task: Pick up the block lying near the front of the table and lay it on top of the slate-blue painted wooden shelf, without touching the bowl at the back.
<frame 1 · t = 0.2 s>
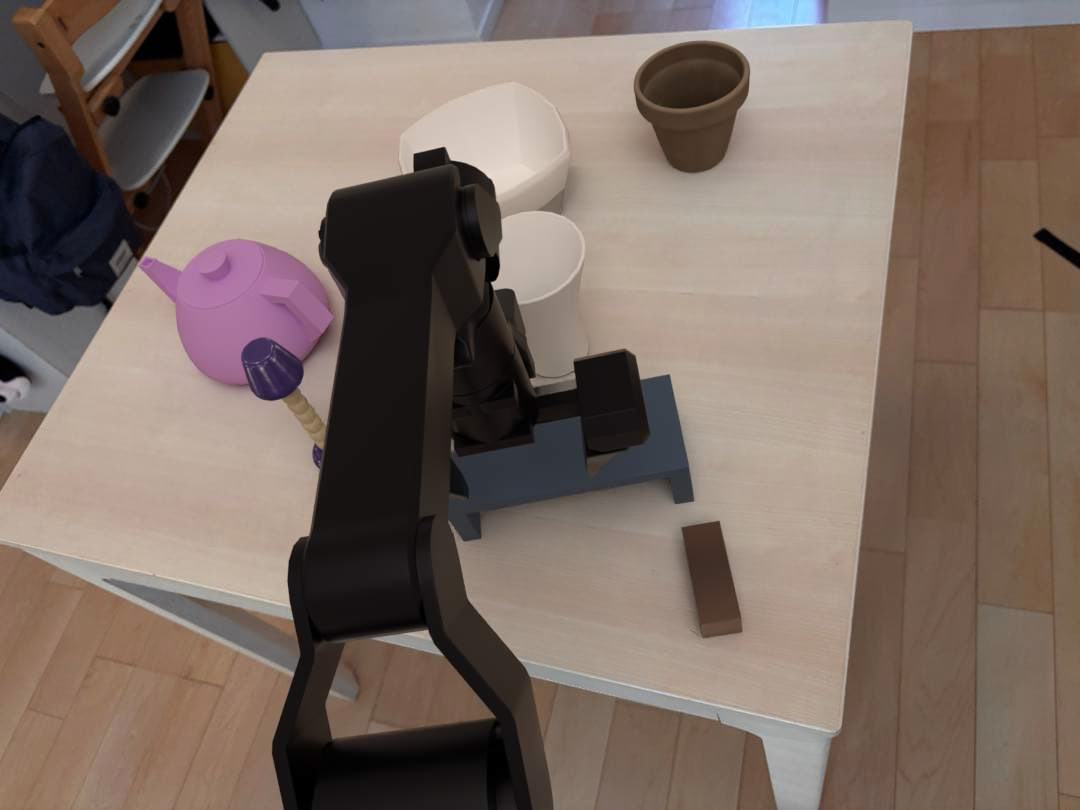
hand: (528, 482, 62), 12 cm above the table, tool pointing down, fingers open, 9 cm apart
block: (712, 585, 68), on the table
cup: (556, 351, 84), on the table
flower pot: (697, 153, 95), on the table
teapot: (268, 335, 94), on the table
bowl: (503, 210, 96), on the table
toy lamp: (339, 454, 83), on the table
shelf: (571, 475, 76), on the table
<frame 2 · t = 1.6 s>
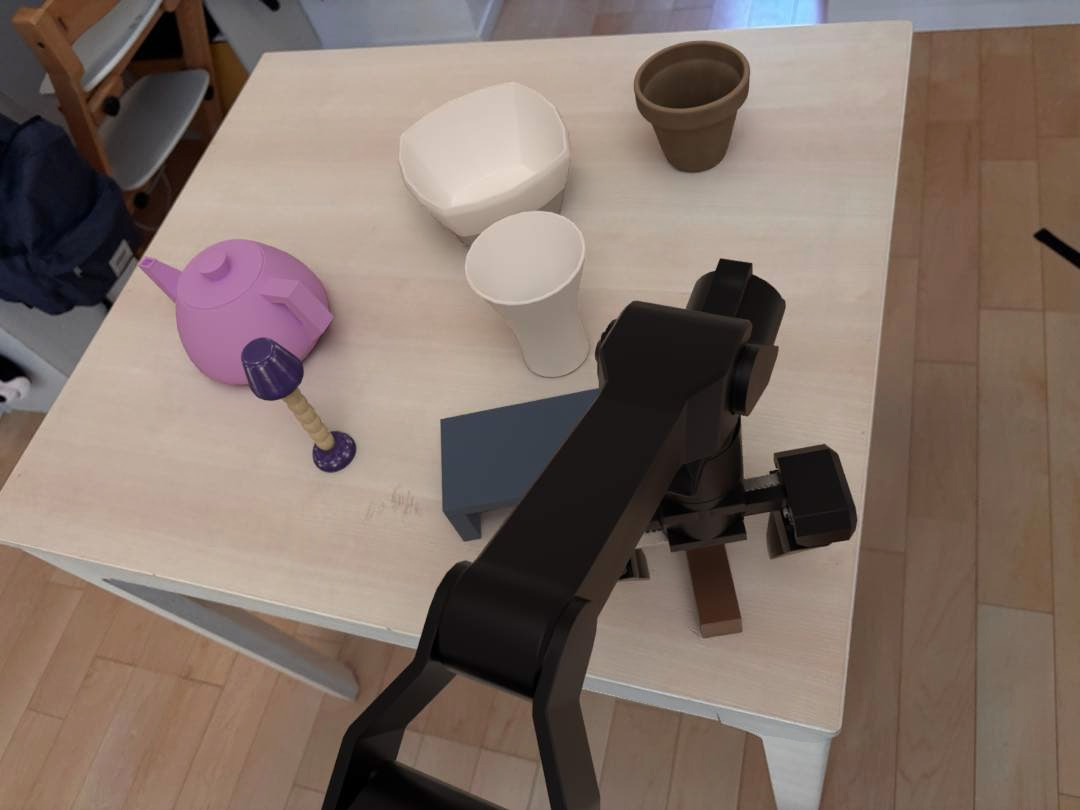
hand: (708, 563, 64), 5 cm above the table, tool pointing down, fingers open, 9 cm apart
nothing on the table moved.
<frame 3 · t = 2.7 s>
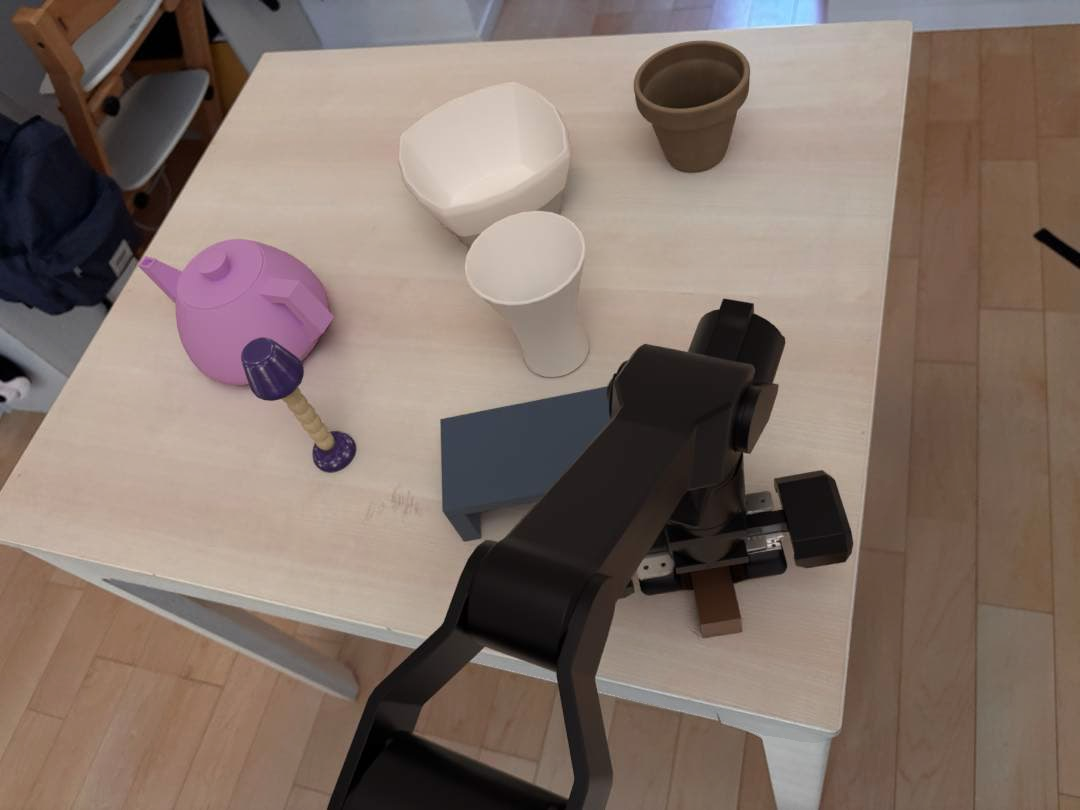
hand: (711, 581, 67), 1 cm above the table, tool pointing down, fingers closed on block, 3 cm apart
block: (712, 585, 68), on the table, touching gripper
everything else where it was.
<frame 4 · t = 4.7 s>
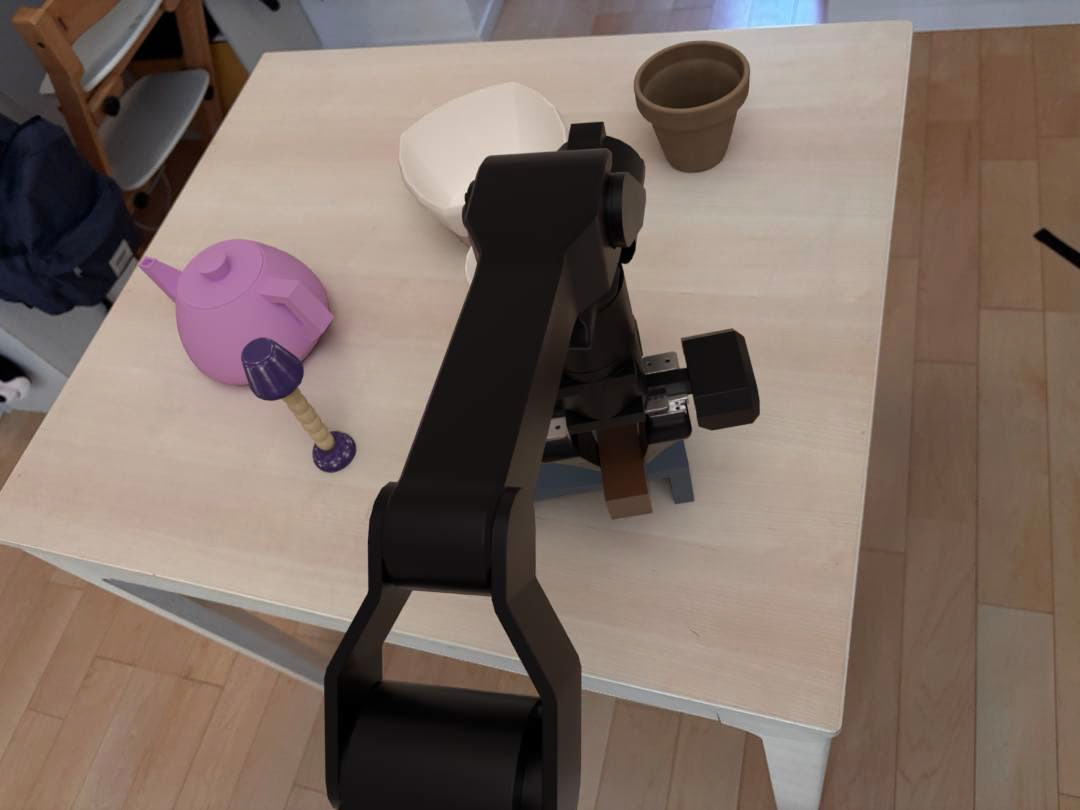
hand: (623, 460, 63), 11 cm above the table, tool pointing down, fingers closed on block, 3 cm apart
block: (625, 467, 63), point 10 cm above the table, touching gripper
everything else where it was.
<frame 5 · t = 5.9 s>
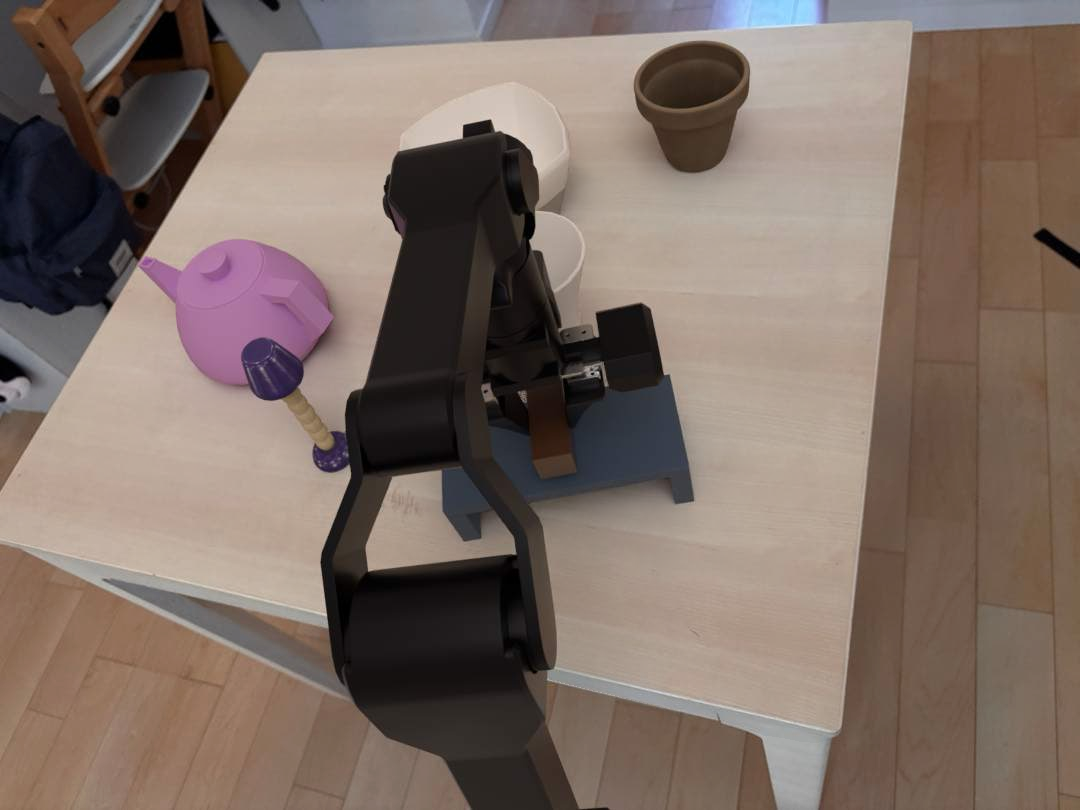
hand: (552, 427, 69), 8 cm above the table, tool pointing down, fingers closed on block, 3 cm apart
block: (554, 433, 70), point 7 cm above the table, touching gripper
everything else where it was.
when the fingers open (7 cm above the table, at t = 6.6 s): block stays where it is, resting on shelf.
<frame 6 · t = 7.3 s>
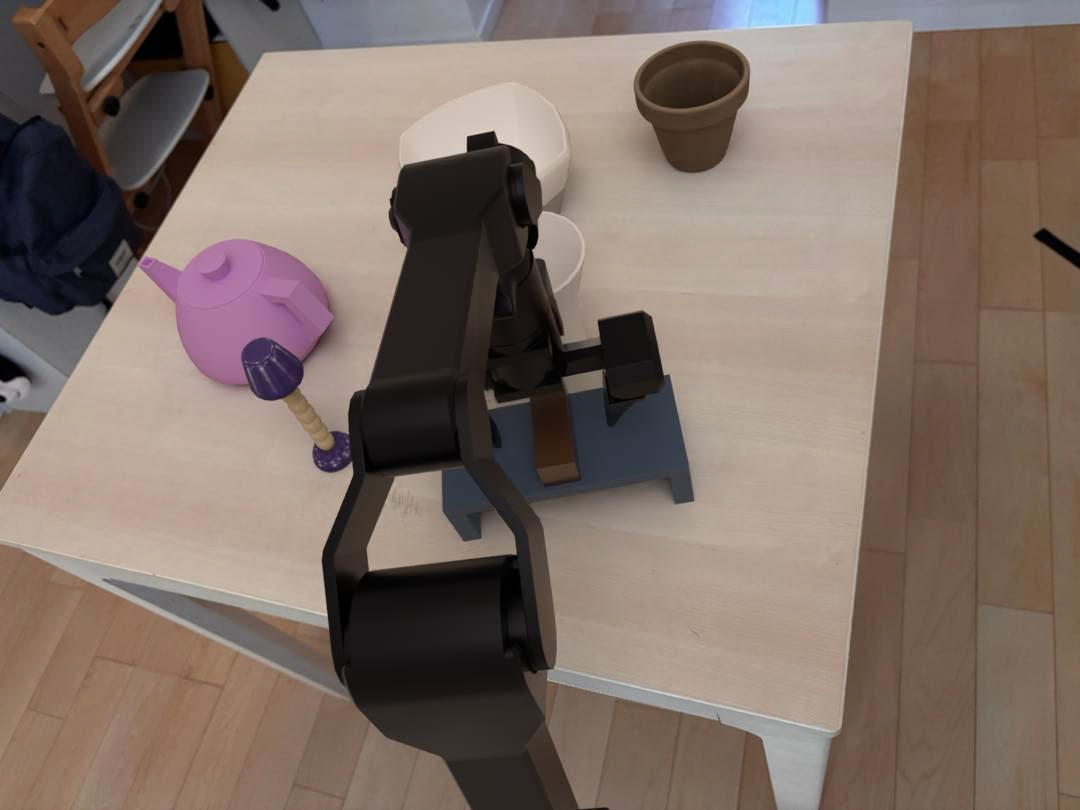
hand: (554, 432, 70), 7 cm above the table, tool pointing down, fingers open, 9 cm apart
block: (557, 441, 71), point 6 cm above the table, touching shelf
everything else where it was.
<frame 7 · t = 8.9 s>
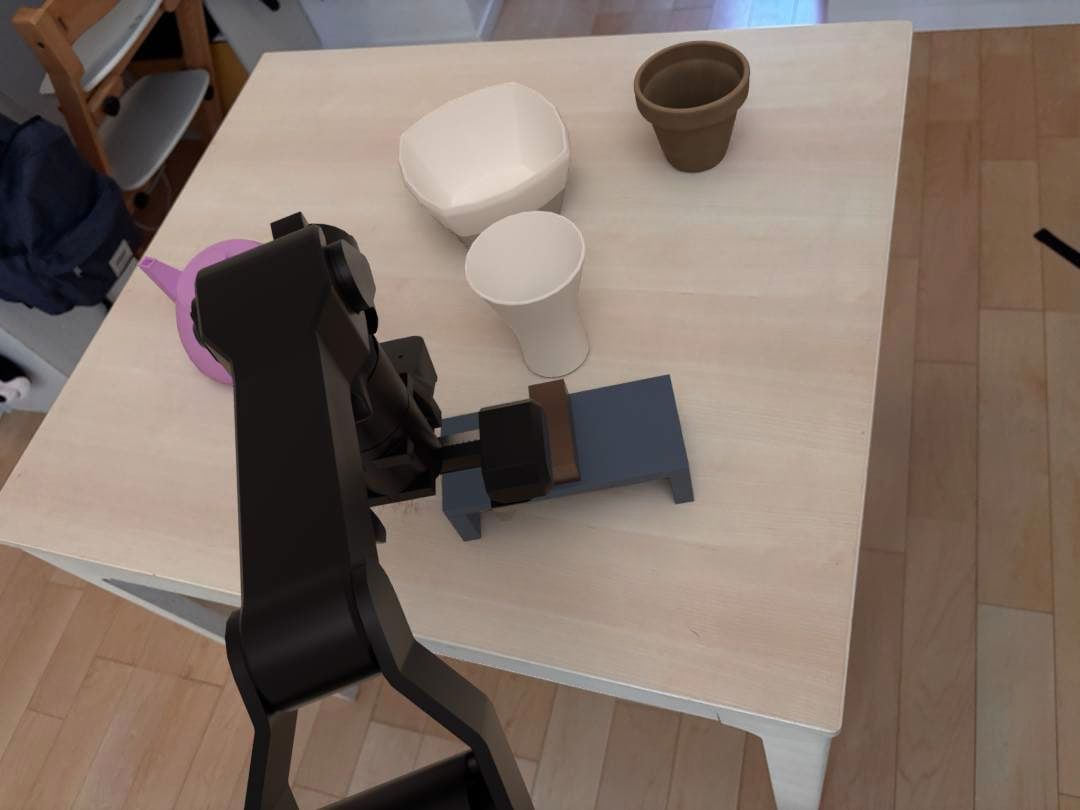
hand: (444, 526, 62), 12 cm above the table, tool pointing down, fingers open, 9 cm apart
nothing on the table moved.
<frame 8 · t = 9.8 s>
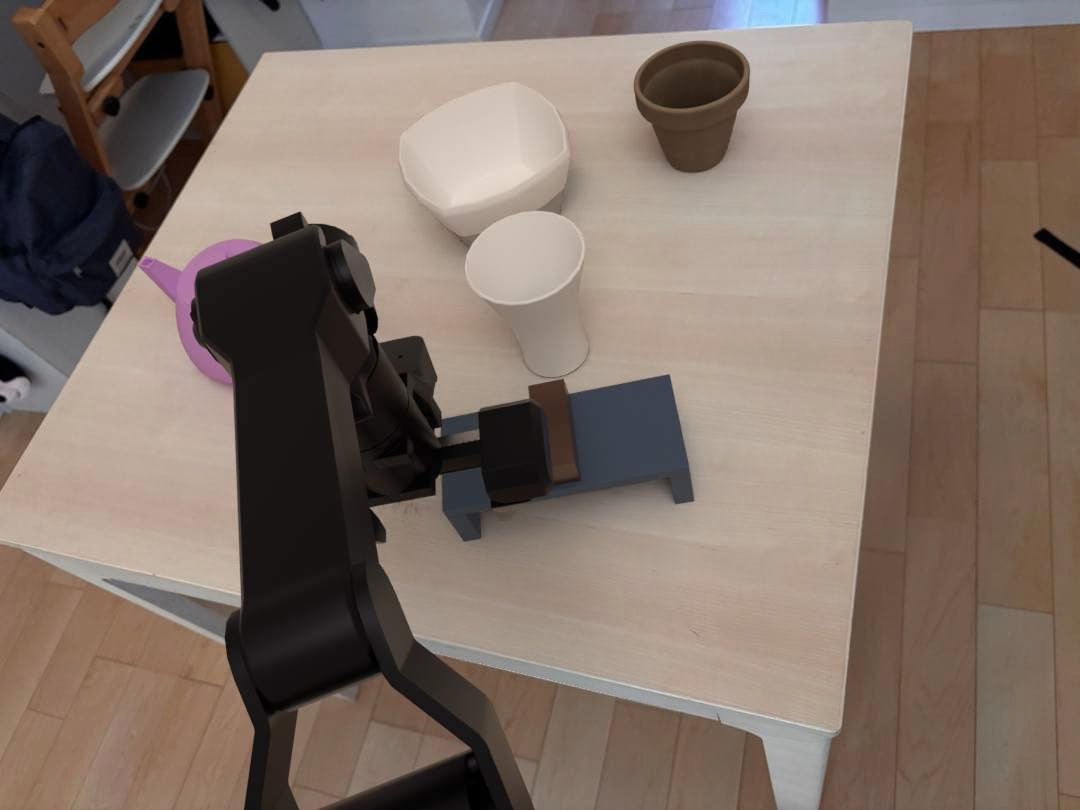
hand: (444, 526, 62), 12 cm above the table, tool pointing down, fingers open, 9 cm apart
nothing on the table moved.
at the end: block inside the target area on the shelf (0.0 cm from its centre), point 6.0 cm above the shelf's base; block tilted 0°; block touching shelf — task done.
